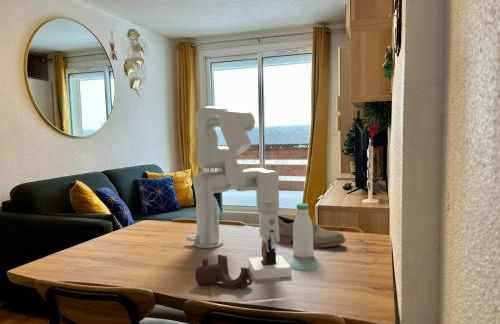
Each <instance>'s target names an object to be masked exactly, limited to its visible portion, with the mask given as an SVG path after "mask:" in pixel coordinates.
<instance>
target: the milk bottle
mask: <svg viewBox="0 0 500 324" xmlns="http://www.w3.org/2000/svg"><path fill="white" fill-rule="evenodd" d="M309 208H310V205H309V204H308V203H298V204H296V211H297V214H296V217H295V218H294V219H295V221H294V224H293V242H292V247H293V248H292V249H293V250H292V252H293V256H295V257H296V258H306V259H307V258H310V257H313V256H314V248H313V224H312V222H313V221H312V219H311V216H310V213H309V211H310V209H309Z"/></svg>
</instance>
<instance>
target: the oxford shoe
mask: <svg viewBox="0 0 500 324" xmlns="http://www.w3.org/2000/svg"><path fill="white" fill-rule="evenodd" d="M294 221H295V218H294V219H291V218H287V217H284V216H281V215H278V222H279V238H280V241H279V242H278V243H282V244H288V245H291V244H293V224H294ZM312 224H313V249H315V248H316V249H319V248H321V249H323V248H330V247H335V246H339V245H343V244H344V243H345V242H346V238H345V237H344V234H343V233H342V232H340V231H334V230H328V229H324V228H322V227H321V226H318V224H316V223H315V222H314V221H312Z"/></svg>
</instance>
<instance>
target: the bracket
mask: <svg viewBox="0 0 500 324" xmlns="http://www.w3.org/2000/svg"><path fill="white" fill-rule="evenodd" d="M194 278H195V281H196V282H195V283H196V284H197V285H198V286H201V285H202V286H203V285H208V284H214V283H216V284H217V283H222V284H223V285H225V286H226V288H229V289H231V288H240V287H246V286H251V285H252V284H253V278H252V275H251V271H250V269H249V267H246V266H245V267H240V274H239V275H238V277H237V278H236V279H233V278H232V277H231V276H230V274H229V265H228V257H227V255H224V254H223V255H222V254H218V255H217V263H212V264H209V260H208V258H204V259H202V265H200V266H196V268H195V271H194Z"/></svg>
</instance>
